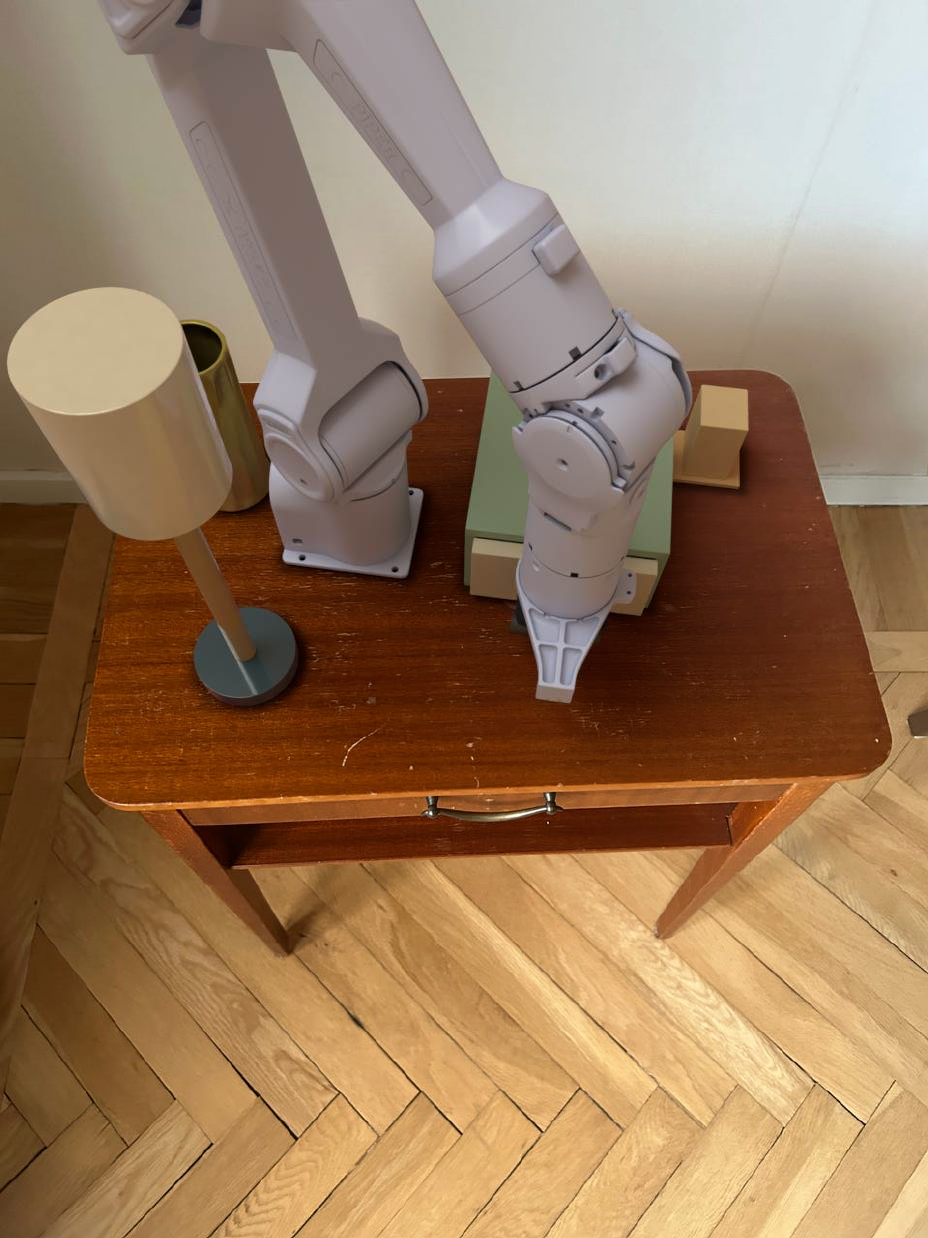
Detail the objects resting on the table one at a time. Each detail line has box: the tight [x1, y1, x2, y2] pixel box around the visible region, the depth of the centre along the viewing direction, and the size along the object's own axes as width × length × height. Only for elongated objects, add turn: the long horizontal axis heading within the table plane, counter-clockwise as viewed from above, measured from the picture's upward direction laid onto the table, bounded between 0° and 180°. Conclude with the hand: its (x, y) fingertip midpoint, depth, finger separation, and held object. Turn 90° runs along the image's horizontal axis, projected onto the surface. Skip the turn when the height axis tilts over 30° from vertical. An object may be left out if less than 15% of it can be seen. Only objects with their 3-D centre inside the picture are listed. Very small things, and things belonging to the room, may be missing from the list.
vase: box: [179, 319, 271, 512], centre depth 63 cm, size 6×6×14 cm
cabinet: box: [463, 368, 674, 609], centre depth 65 cm, size 15×14×8 cm
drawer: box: [469, 538, 658, 646], centre depth 63 cm, size 18×12×6 cm
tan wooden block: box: [682, 384, 750, 479], centre depth 68 cm, size 4×4×6 cm
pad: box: [673, 429, 741, 490], centre depth 70 cm, size 6×5×1 cm
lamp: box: [6, 286, 300, 707], centre depth 49 cm, size 7×7×30 cm
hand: (552, 646), depth 59 cm, fingers closed, pressing on drawer
